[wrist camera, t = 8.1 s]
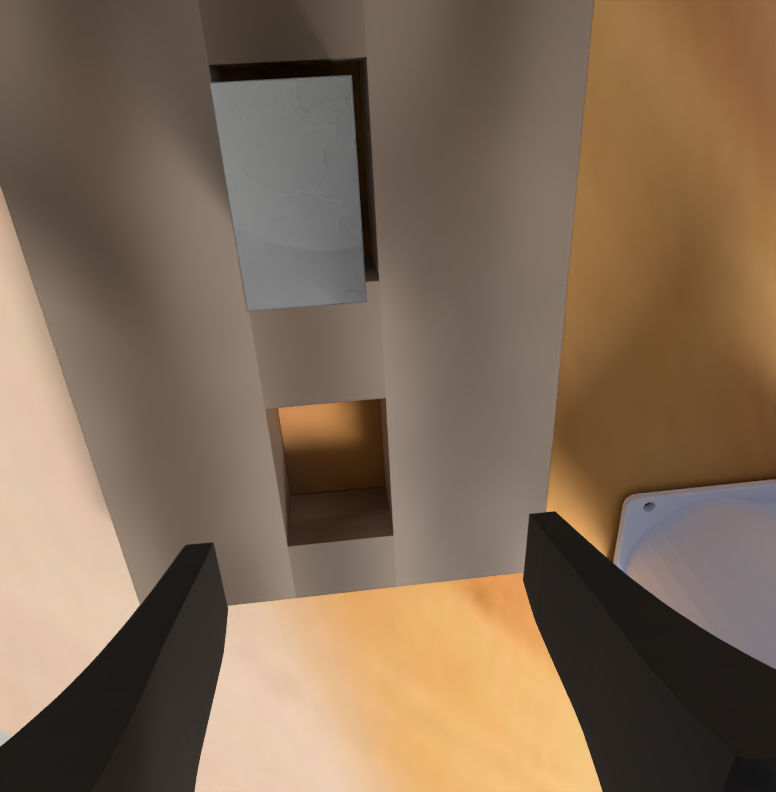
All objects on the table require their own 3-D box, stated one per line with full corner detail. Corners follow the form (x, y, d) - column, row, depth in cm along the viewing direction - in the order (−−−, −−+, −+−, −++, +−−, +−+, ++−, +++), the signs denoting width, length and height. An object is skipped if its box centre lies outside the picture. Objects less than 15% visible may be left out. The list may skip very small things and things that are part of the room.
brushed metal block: (340, 80, 17) (351, 74, 11) (351, 234, 19) (366, 302, 13) (248, 85, 17) (208, 82, 11) (270, 240, 19) (246, 311, 13)
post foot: (555, -53, 16) (601, -80, 14) (517, 520, 26) (540, 570, 23) (-11, -31, 15) (-80, -56, 13) (162, 558, 25) (143, 615, 22)
